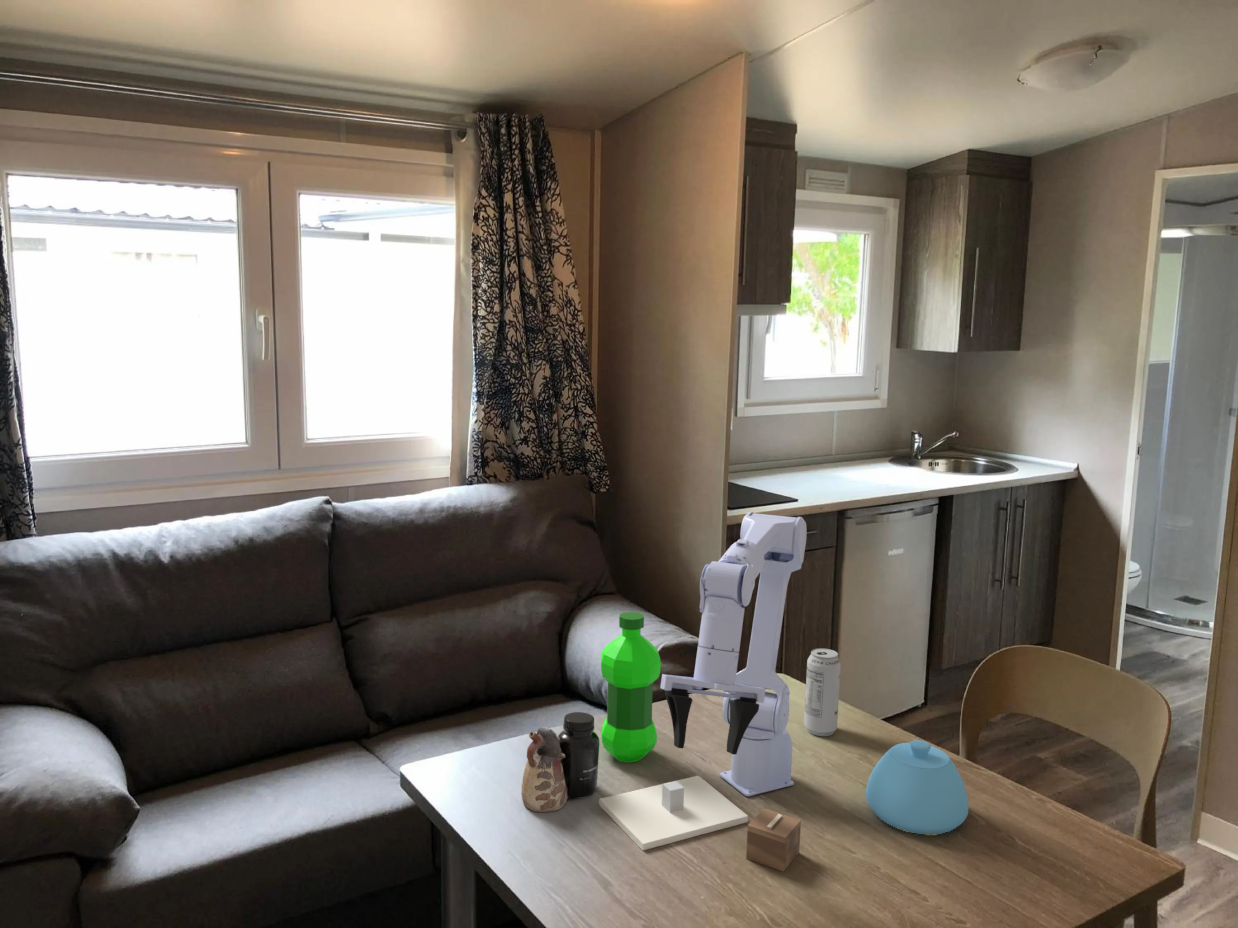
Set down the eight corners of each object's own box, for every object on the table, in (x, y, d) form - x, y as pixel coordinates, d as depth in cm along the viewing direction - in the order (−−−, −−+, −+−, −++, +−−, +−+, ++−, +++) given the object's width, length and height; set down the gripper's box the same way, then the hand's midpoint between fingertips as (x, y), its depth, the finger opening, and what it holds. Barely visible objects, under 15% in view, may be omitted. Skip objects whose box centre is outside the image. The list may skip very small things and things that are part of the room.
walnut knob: (762, 840, 136) (764, 806, 135) (799, 852, 133) (801, 817, 132) (746, 858, 131) (747, 823, 130) (783, 871, 128) (785, 835, 127)
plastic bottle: (655, 741, 167) (658, 606, 163) (659, 769, 157) (663, 625, 153) (599, 741, 167) (601, 606, 163) (599, 769, 156) (602, 625, 153)
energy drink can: (842, 736, 171) (847, 657, 169) (811, 738, 170) (816, 659, 167) (828, 722, 177) (832, 646, 175) (798, 724, 176) (802, 648, 173)
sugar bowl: (983, 814, 145) (989, 743, 143) (941, 852, 134) (946, 776, 132) (893, 780, 155) (897, 714, 153) (847, 813, 144) (851, 742, 142)
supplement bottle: (592, 801, 145) (595, 727, 144) (550, 796, 146) (552, 723, 145) (600, 781, 152) (603, 711, 151) (559, 777, 153) (562, 706, 152)
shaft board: (698, 781, 153) (698, 755, 152) (747, 821, 141) (748, 793, 140) (599, 804, 145) (599, 777, 144) (642, 850, 132) (643, 820, 132)
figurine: (576, 803, 145) (576, 730, 143) (536, 817, 141) (535, 742, 139) (553, 784, 150) (552, 714, 149) (513, 797, 147) (512, 724, 145)
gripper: (677, 644, 124) (663, 749, 122) (778, 658, 127) (766, 761, 125) (662, 640, 131) (648, 739, 129) (758, 654, 134) (746, 751, 132)
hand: (705, 749), depth 127 cm, fingers open, 7 cm apart
